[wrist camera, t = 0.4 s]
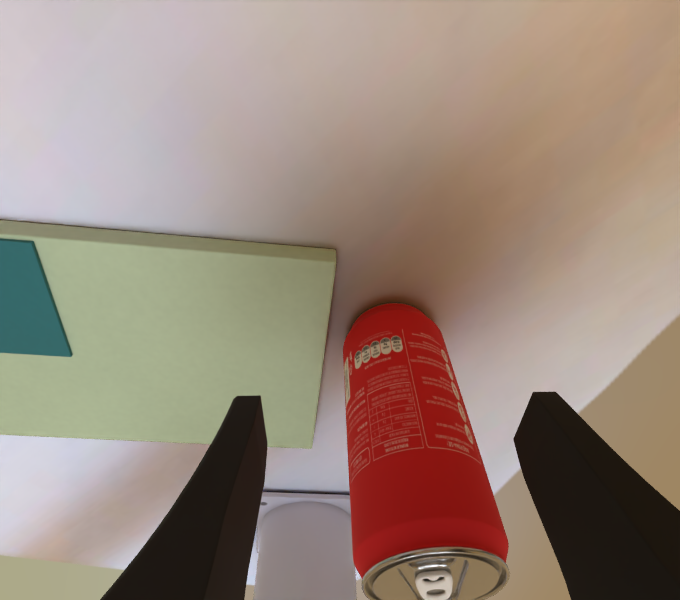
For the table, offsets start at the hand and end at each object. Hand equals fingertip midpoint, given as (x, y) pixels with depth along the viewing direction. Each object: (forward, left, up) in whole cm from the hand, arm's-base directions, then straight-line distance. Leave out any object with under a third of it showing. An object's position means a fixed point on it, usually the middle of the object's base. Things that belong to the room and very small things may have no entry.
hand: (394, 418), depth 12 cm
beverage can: (-6, -2, -10) cm, 12 cm away
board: (-8, +11, -10) cm, 17 cm away
